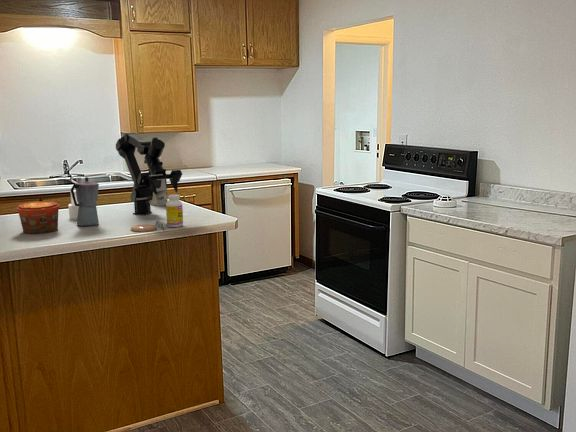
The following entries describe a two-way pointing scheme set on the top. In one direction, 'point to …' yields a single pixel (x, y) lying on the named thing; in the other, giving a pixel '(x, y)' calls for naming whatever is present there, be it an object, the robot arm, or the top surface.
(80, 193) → the moka pot
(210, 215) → the top surface
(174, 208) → the supplement bottle
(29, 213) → the food container
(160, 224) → the low wall
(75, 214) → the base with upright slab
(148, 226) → the coaster
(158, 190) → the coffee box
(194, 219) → the top surface
